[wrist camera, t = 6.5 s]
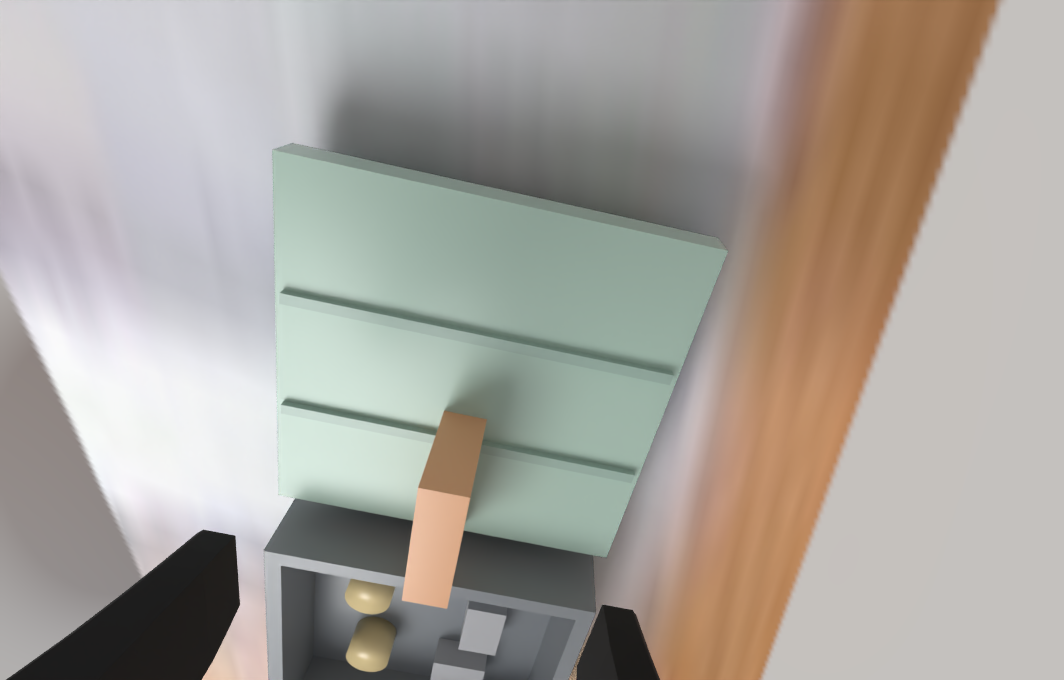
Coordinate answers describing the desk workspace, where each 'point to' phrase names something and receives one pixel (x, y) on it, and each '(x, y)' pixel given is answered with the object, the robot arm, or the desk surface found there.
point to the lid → (471, 354)
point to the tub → (410, 628)
